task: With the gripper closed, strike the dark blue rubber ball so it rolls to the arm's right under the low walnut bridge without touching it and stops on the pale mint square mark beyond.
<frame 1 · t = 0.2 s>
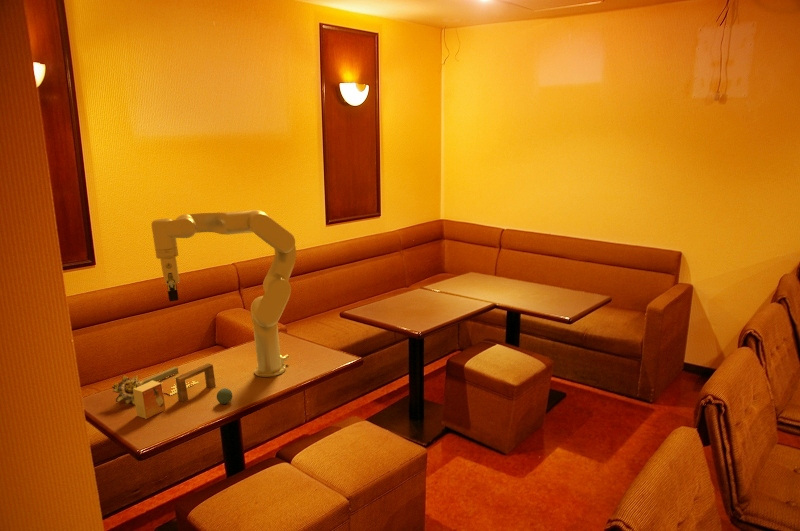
hand: (173, 297, 210), 37 cm above the table, tool pointing down, fingers open, 9 cm apart
passion flower: (131, 400, 211), on the table
small box: (151, 413, 200), on the table
bridge: (197, 393, 214), on the table
grey square bar: (159, 380, 227), on the table
ball: (224, 396, 204), on the table
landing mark: (175, 385, 221), on the table
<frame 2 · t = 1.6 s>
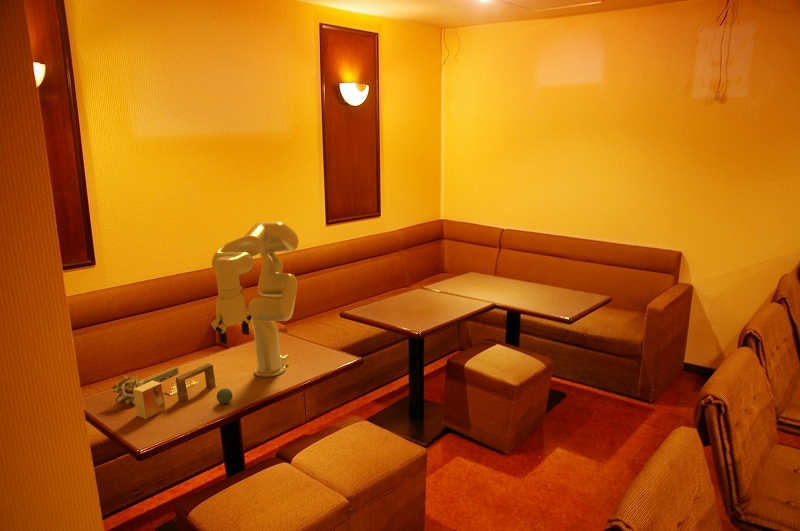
hand: (235, 338, 199), 25 cm above the table, tool pointing down, fingers open, 9 cm apart
nothing on the table moved.
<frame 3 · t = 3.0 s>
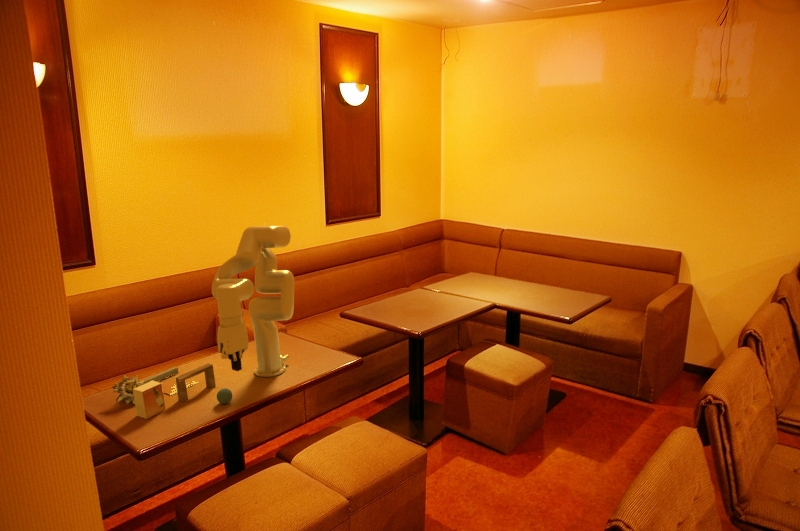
hand: (237, 369, 196), 15 cm above the table, tool pointing down, fingers closed
nothing on the table moved.
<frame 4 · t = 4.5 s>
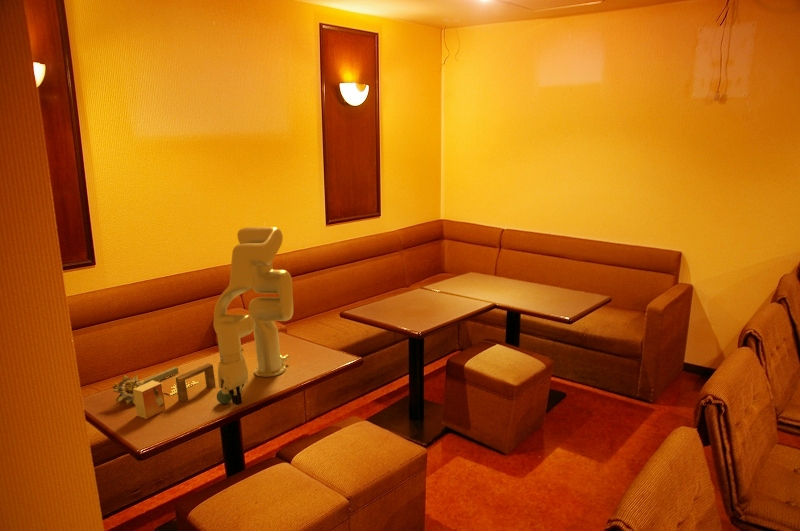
hand: (237, 403, 201), 1 cm above the table, tool pointing down, fingers closed
nothing on the table moved.
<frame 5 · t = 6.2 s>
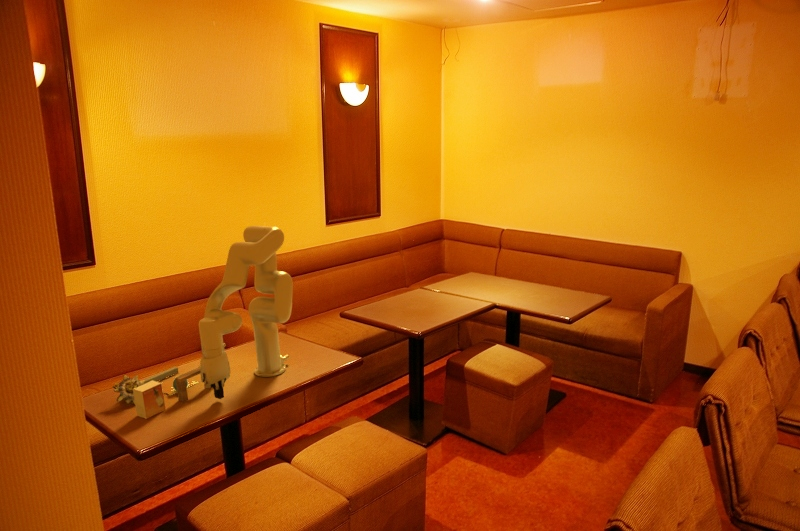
hand: (219, 397, 206), 2 cm above the table, tool pointing down, fingers closed
ball: (180, 383, 216), on the table
everything else where it was.
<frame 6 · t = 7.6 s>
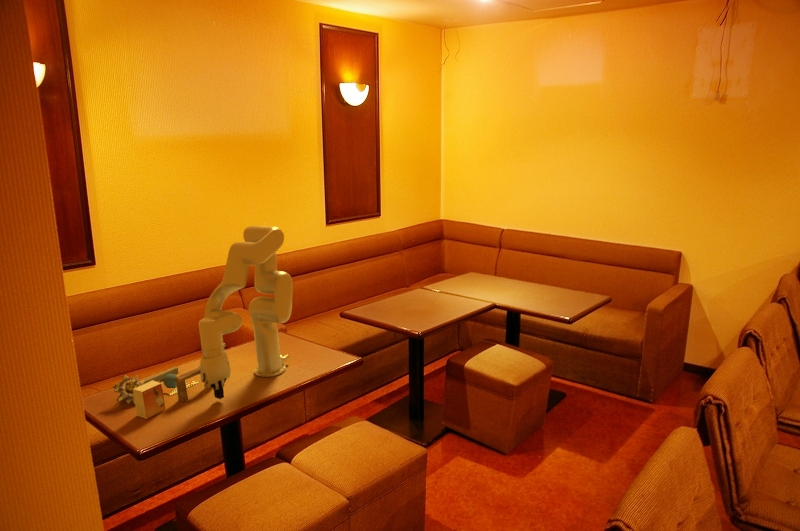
hand: (219, 397, 206), 2 cm above the table, tool pointing down, fingers closed
ball: (170, 380, 219), on the table
everything else where it was.
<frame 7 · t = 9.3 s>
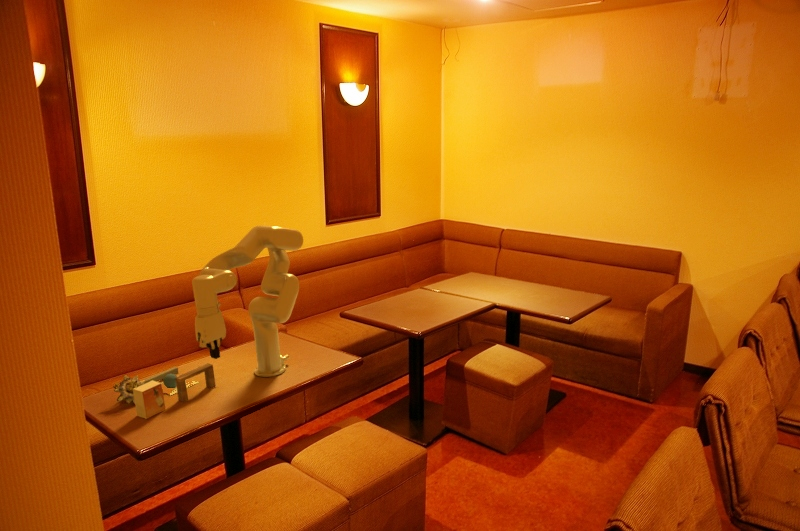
hand: (215, 357, 203), 17 cm above the table, tool pointing down, fingers closed
nothing on the table moved.
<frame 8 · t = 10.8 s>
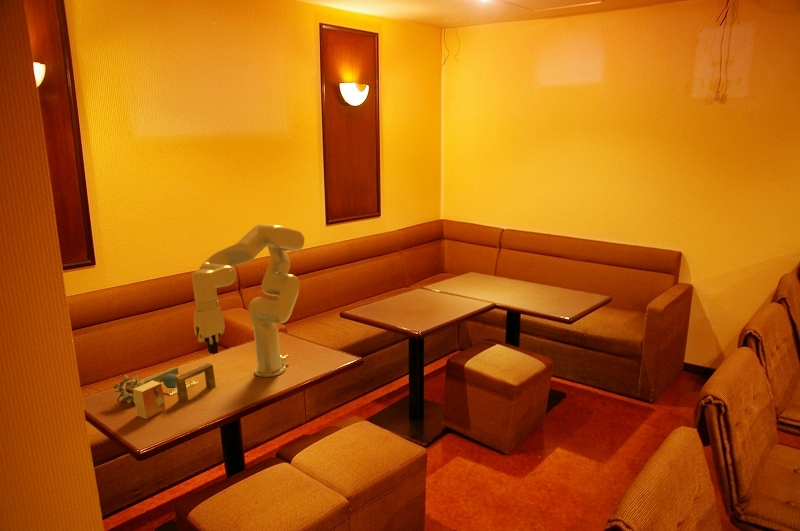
hand: (213, 352, 202), 19 cm above the table, tool pointing down, fingers closed
nothing on the table moved.
at the end: ball 1.7 cm from the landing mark (horizontally); ball never touched bridge; ball at rest at the end (0.0 cm/s) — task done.
